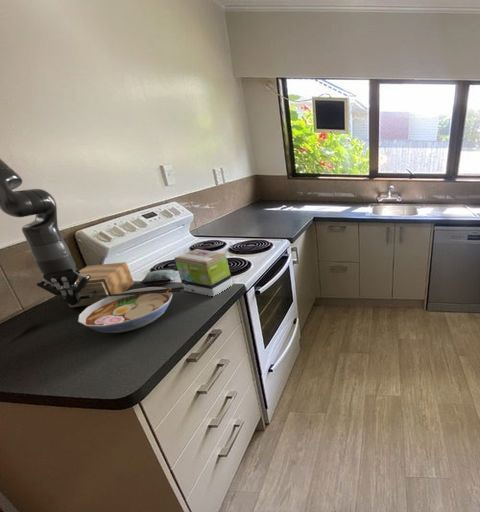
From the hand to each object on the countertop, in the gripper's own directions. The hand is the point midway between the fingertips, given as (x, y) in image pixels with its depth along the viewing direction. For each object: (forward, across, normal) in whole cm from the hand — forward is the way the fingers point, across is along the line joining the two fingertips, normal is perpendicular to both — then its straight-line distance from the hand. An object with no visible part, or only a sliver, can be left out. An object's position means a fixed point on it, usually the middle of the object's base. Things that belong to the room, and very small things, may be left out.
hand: (75, 303), depth 95 cm
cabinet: (+4, 0, -15) cm, 15 cm away
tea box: (+5, -37, -7) cm, 38 cm away
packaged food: (+5, -17, -20) cm, 27 cm away
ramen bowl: (+5, -20, +12) cm, 23 cm away
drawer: (+4, 0, -11) cm, 11 cm away
